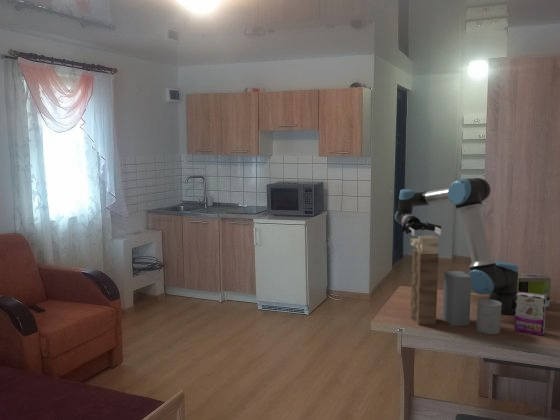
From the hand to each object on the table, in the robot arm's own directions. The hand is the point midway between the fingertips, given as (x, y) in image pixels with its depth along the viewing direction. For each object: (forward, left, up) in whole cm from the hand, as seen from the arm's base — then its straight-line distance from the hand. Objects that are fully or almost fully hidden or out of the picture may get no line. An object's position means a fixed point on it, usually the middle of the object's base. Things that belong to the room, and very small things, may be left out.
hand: (428, 233), depth 249 cm
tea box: (-47, -22, -37) cm, 63 cm away
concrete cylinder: (-30, +23, -36) cm, 52 cm away
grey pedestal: (-16, +18, -36) cm, 43 cm away
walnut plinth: (-2, +22, -36) cm, 43 cm away
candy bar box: (-46, +18, -36) cm, 61 cm away
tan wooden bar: (0, +18, -4) cm, 18 cm away
